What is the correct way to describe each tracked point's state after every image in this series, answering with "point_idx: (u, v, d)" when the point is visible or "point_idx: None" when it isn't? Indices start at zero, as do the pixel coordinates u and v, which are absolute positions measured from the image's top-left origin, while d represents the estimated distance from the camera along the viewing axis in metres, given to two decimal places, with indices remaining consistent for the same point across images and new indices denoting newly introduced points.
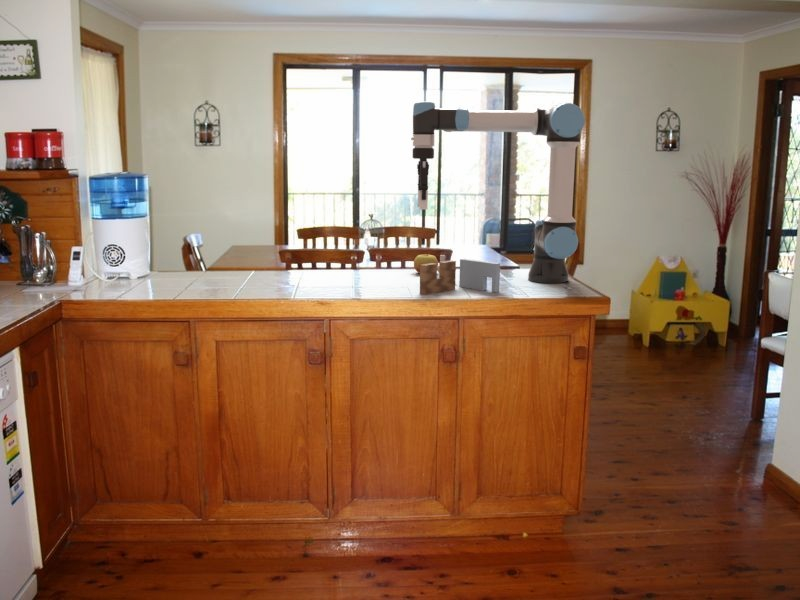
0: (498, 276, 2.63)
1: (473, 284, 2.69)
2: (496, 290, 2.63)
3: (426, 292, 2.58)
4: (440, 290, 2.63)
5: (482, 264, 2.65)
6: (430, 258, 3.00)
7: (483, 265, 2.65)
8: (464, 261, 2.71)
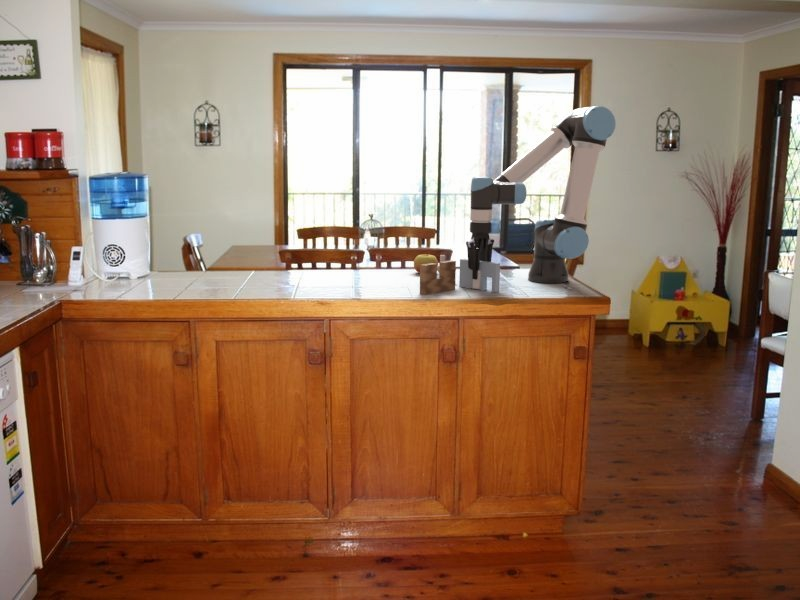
0: (498, 276, 2.63)
1: None
2: (496, 290, 2.63)
3: (426, 292, 2.58)
4: (440, 290, 2.63)
5: (482, 264, 2.65)
6: (430, 258, 3.00)
7: (483, 265, 2.65)
8: (464, 261, 2.71)
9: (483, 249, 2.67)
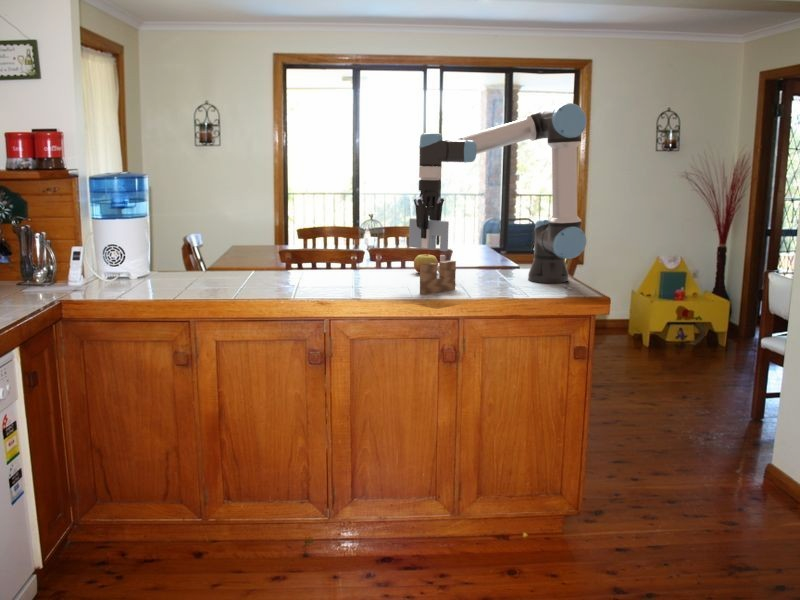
0: (446, 235, 2.58)
1: None
2: (444, 249, 2.58)
3: (426, 292, 2.58)
4: (440, 290, 2.63)
5: (431, 222, 2.60)
6: (430, 258, 3.00)
7: (431, 224, 2.60)
8: (413, 220, 2.66)
9: (432, 208, 2.62)
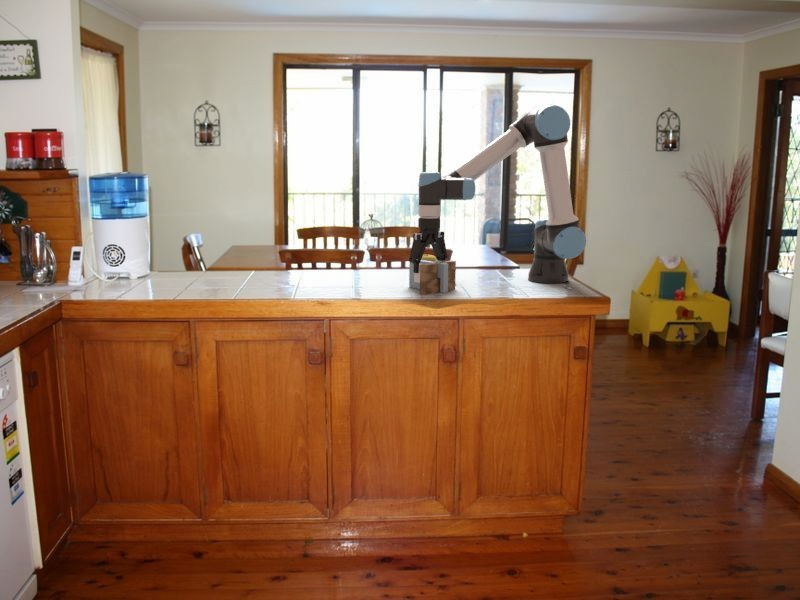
0: (446, 277, 2.61)
1: None
2: (444, 291, 2.61)
3: (426, 292, 2.58)
4: None
5: None
6: (430, 258, 3.00)
7: None
8: None
9: (434, 244, 2.65)
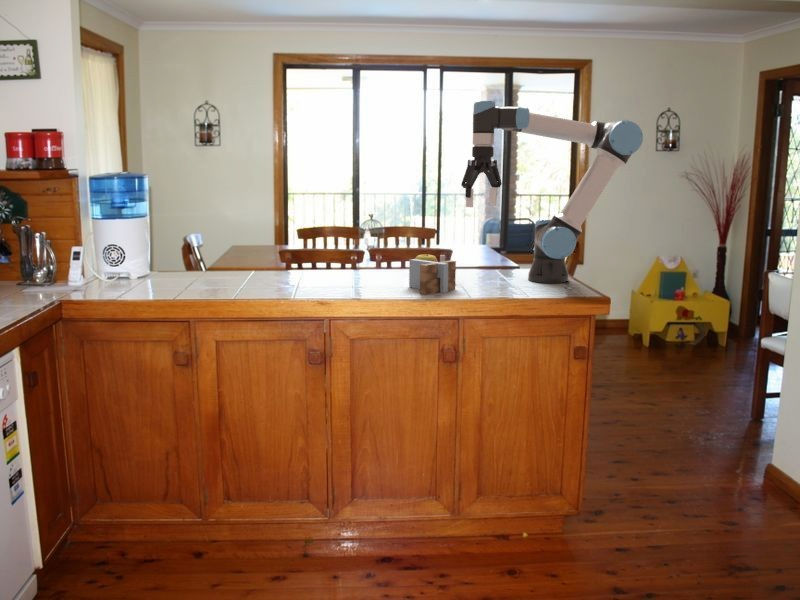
0: (446, 277, 2.61)
1: None
2: (444, 291, 2.61)
3: (426, 292, 2.58)
4: None
5: None
6: (430, 258, 3.00)
7: None
8: (413, 261, 2.68)
9: (488, 172, 2.71)
